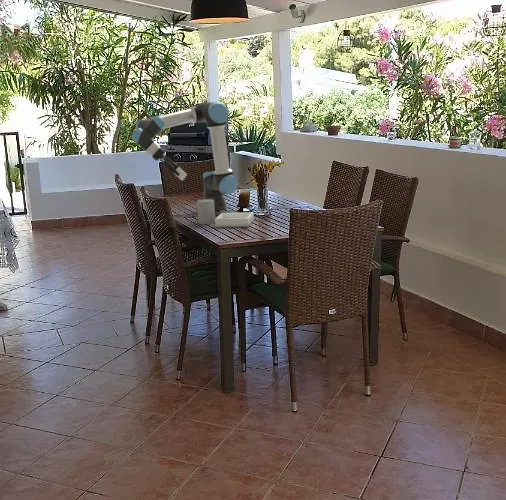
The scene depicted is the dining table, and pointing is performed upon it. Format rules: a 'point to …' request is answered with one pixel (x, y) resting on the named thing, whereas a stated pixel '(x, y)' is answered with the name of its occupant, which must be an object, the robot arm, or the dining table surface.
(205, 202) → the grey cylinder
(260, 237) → the dining table surface
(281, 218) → the dining table surface
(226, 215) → the white square tray
